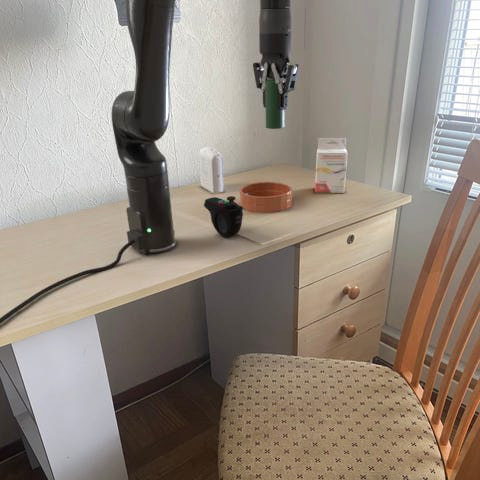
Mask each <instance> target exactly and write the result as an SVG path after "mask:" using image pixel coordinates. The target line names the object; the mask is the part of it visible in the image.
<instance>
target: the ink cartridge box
mask: <svg viewBox="0 0 480 480" xmlns="http://www.w3.org/2000/svg"><path fill="white" fill-rule="evenodd" d="M331 142H333V143H335V144H333V143H331ZM347 165H348V150H347V138H346V137H319V138H318V139H317V149H316V161H315V177H314V178H315V181H314V191H315V193H329V194H345V189H346V176H347Z"/></svg>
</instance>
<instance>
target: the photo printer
mask: <svg viewBox="0 0 480 480" xmlns="http://www.w3.org/2000/svg"><path fill="white" fill-rule="evenodd" d="M198 162H199V178H200V185H201V187H203V189H205V190H207V191H209V192H210V193H212V194H217V193H218V194H219V193H222V192H224V191H225V179H224V159H223V156H222V155H221V152H219V151H218V150H217V149H216V148H214V147H211V146H204V147H202V148H200V150H199V152H198Z"/></svg>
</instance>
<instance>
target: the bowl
mask: <svg viewBox="0 0 480 480" xmlns="http://www.w3.org/2000/svg"><path fill="white" fill-rule="evenodd" d="M292 205H293V188H292V186H290V185H288V184H286V183H283V182H276V181H258V182H252V183H248V184H245V185H243V186H241V187H240V188H239V206H242V207H243V210H245V211H248V212H252V213H253V212H254V213H264V214H265V213H276V212H282V211H284V210H287V209H289V208H291V207H292Z"/></svg>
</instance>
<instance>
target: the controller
mask: <svg viewBox="0 0 480 480" xmlns="http://www.w3.org/2000/svg"><path fill="white" fill-rule="evenodd" d="M236 199H237V198H236V196H234V195H233V196H232V195H231V196H227V197H226V200H225V199H222V198H219V197H217V196H213V197H210V198H209V197H208V198H206V199H204V203H203V207H204V208H205V209H206V210H207V211H208V212H209V214H210V219H211V223H212V226H213V228H214V230H215V231H216V232H217V234H219V235H220V236H221V237H224V238H230V237H233V236H235V235H237V234H238V233H239V232H240V231H241V229H242V224H243V218H244V212H243V210H244V209H243V207H242V206H240V204H238V203H237V202H235V200H236Z"/></svg>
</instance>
